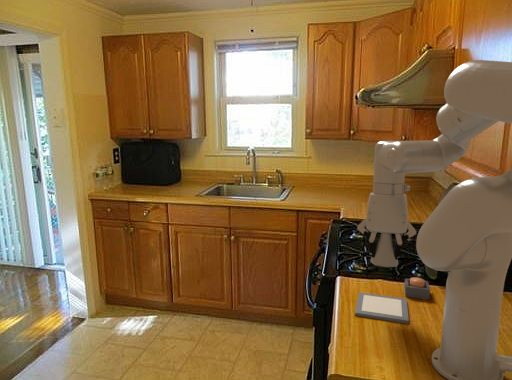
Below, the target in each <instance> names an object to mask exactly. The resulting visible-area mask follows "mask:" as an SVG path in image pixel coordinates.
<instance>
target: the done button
mask: <svg viewBox="0 0 512 380" xmlns="http://www.w3.org/2000/svg"><path fill="white" fill-rule="evenodd" d="M409 279H410V286H412V287H420V288H424V286H425V281H426V280H425V279H423V278H421V277H410V278H409Z"/></svg>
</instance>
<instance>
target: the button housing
mask: <svg viewBox="0 0 512 380" xmlns="http://www.w3.org/2000/svg"><path fill="white" fill-rule="evenodd" d="M403 286H404V288H405V289H404V297H405V296H407V298H412V297H413V299H420V298H421V299H422V300H430V299H431V298H430V295H431V288H430V287H431V286H430V283H429V281H427V280H425V286H424V288H420V287H412V286H410V278H404V285H403Z"/></svg>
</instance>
